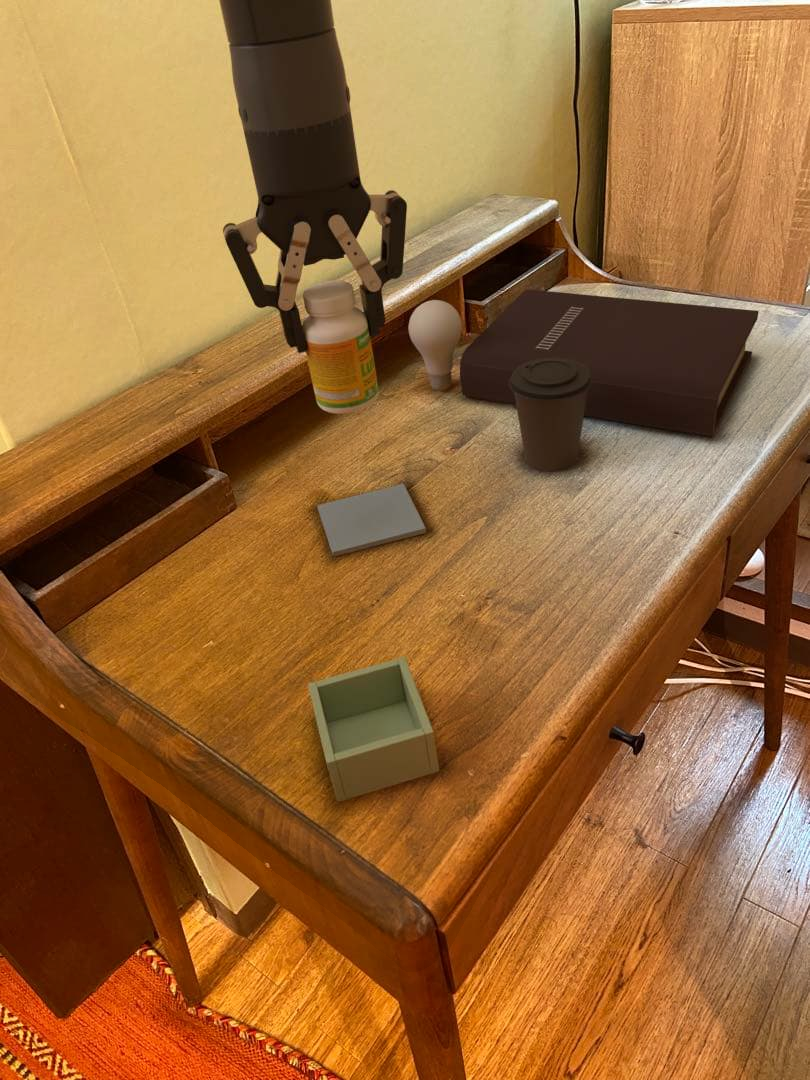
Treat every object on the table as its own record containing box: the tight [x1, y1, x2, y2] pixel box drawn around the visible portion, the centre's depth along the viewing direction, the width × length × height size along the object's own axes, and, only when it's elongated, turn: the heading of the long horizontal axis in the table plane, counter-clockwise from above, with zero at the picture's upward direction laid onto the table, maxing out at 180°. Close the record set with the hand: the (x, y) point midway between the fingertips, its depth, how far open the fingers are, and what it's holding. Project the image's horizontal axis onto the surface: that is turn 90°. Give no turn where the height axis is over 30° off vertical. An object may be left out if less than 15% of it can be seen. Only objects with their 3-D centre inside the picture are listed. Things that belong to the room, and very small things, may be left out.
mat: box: [316, 483, 427, 558], centre depth 79 cm, size 9×8×1 cm
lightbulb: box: [408, 299, 463, 392], centre depth 95 cm, size 6×6×11 cm
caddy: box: [307, 656, 440, 803], centre depth 57 cm, size 7×7×4 cm
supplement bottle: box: [301, 280, 380, 415], centre depth 67 cm, size 5×5×10 cm
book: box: [459, 288, 759, 438], centre depth 94 cm, size 28×20×6 cm
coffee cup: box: [508, 358, 593, 472], centre depth 82 cm, size 8×8×10 cm
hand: (336, 339), depth 67 cm, fingers closed on supplement bottle, 5 cm apart
